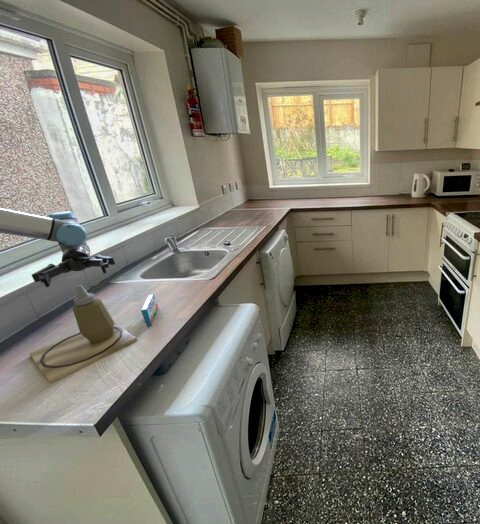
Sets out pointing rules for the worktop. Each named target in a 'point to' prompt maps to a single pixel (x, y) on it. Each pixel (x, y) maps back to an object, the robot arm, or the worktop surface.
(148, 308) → the printed carton box
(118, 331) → the cutting board
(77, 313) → the squeeze bottle
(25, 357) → the worktop surface
